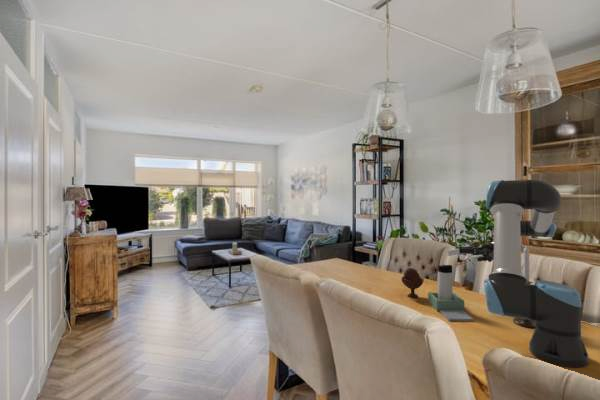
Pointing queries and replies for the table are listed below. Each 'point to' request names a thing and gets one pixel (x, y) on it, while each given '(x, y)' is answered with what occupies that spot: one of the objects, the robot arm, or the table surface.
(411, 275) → the ice cream bowl
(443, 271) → the travel mug
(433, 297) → the green frame
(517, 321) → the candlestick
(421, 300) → the table surface
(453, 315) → the slate tile
